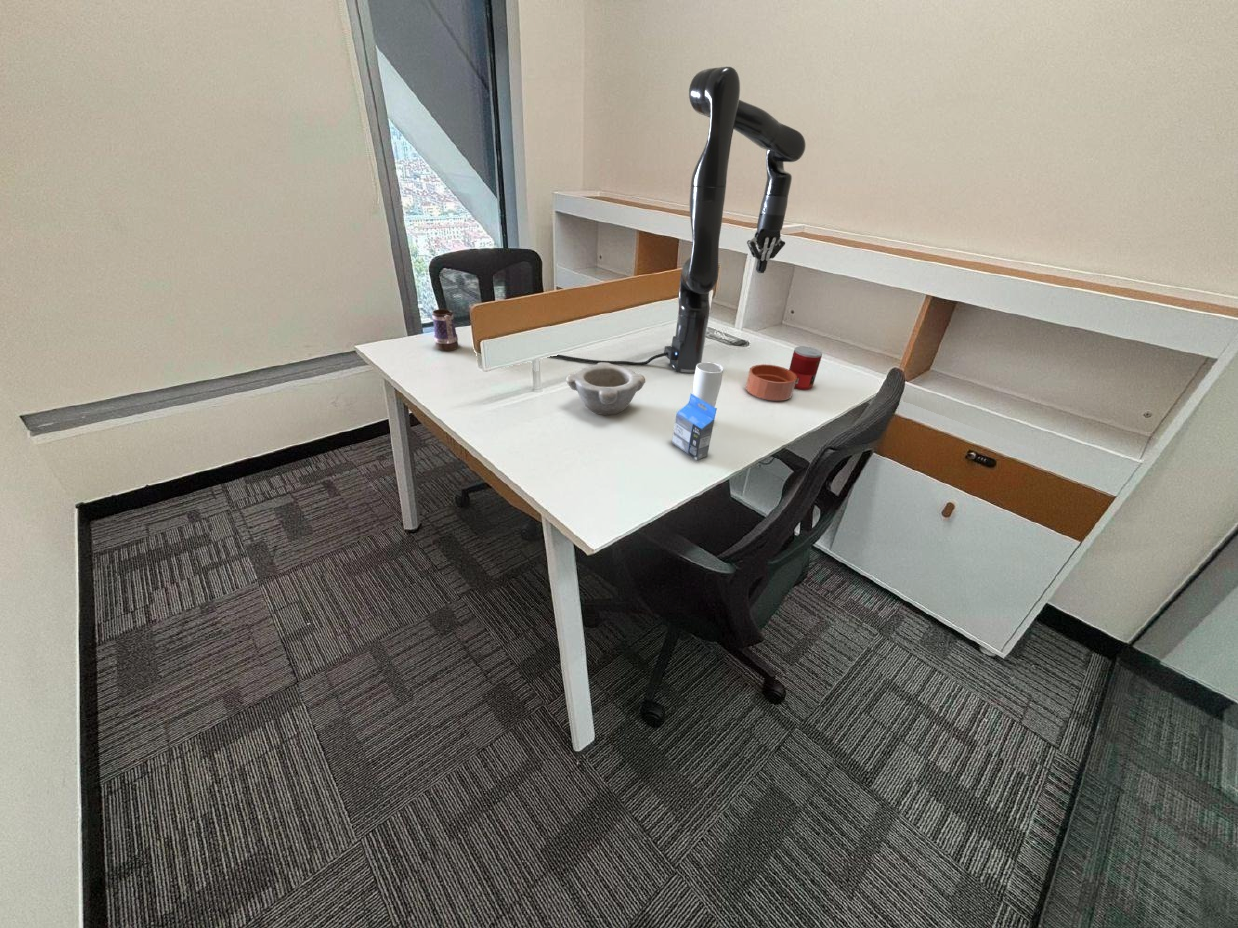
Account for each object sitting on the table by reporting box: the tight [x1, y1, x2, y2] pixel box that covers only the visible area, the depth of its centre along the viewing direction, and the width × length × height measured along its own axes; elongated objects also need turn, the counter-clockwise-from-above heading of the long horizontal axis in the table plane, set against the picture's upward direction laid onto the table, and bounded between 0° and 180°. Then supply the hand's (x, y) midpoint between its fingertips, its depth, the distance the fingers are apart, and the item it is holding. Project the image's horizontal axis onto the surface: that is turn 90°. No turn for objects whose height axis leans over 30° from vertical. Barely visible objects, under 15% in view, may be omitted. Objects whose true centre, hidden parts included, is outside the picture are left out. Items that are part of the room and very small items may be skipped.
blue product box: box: [671, 393, 718, 461], centre depth 113 cm, size 9×4×12 cm, turn 35°
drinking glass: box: [692, 361, 724, 410], centre depth 124 cm, size 7×7×15 cm
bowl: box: [745, 363, 797, 402], centre depth 145 cm, size 13×13×6 cm
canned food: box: [788, 345, 823, 391], centre depth 150 cm, size 8×8×11 cm
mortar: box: [565, 362, 646, 416], centre depth 130 cm, size 17×17×9 cm
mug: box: [431, 308, 459, 352], centre depth 156 cm, size 10×7×12 cm
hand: (760, 272), depth 158 cm, fingers closed
